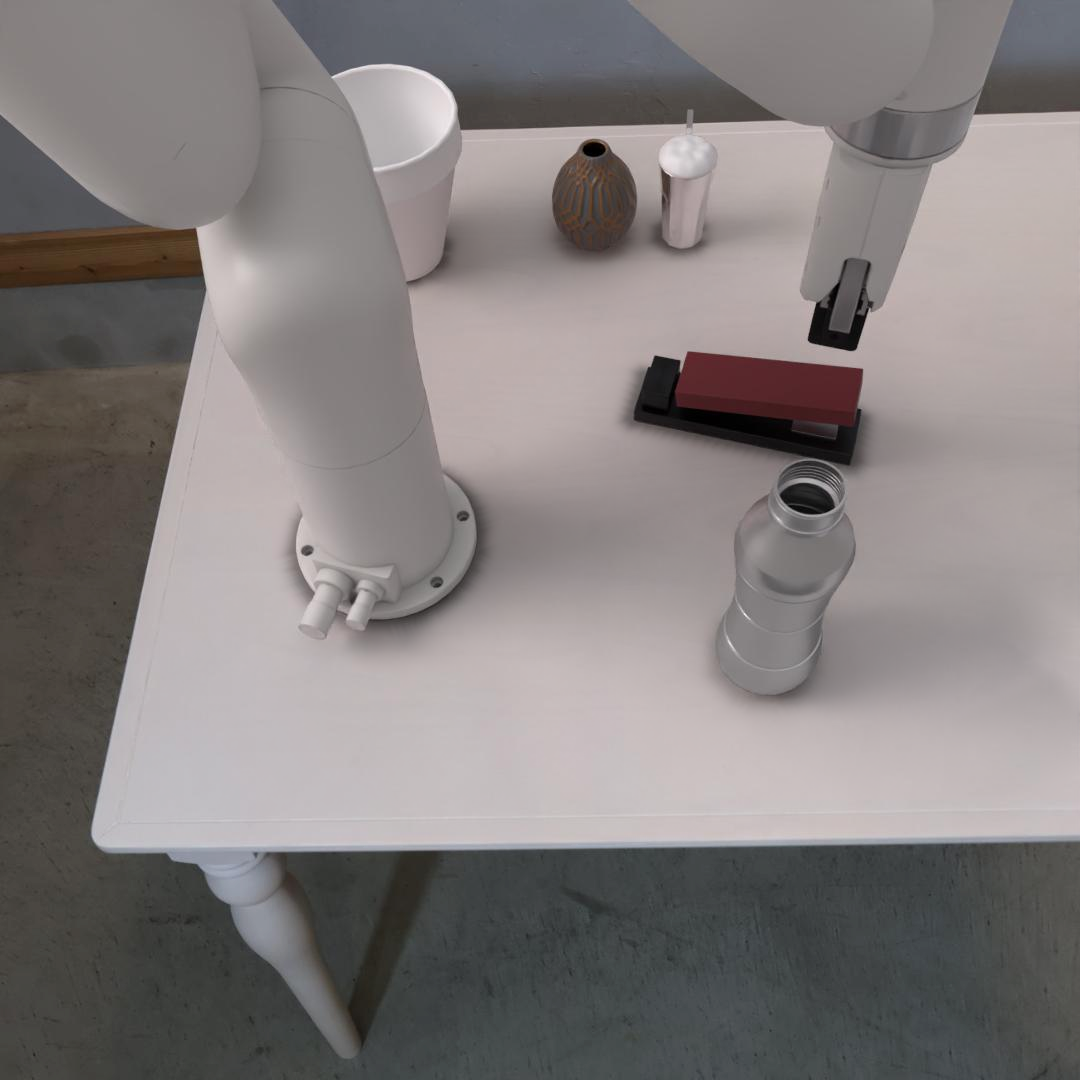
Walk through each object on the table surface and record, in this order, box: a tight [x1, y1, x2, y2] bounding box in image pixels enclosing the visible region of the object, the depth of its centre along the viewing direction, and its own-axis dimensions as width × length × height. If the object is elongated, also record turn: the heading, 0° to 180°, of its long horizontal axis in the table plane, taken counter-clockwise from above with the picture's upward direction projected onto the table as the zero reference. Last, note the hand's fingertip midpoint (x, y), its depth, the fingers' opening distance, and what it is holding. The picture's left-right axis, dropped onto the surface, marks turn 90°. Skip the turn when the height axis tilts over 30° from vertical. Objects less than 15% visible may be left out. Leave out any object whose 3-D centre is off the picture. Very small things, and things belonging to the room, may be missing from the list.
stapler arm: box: [675, 350, 864, 427], centre depth 80 cm, size 12×4×2 cm, turn 73°
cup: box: [331, 63, 463, 282], centre depth 89 cm, size 12×12×14 cm
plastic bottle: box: [715, 458, 857, 696], centre depth 65 cm, size 6×7×20 cm
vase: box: [551, 138, 638, 252], centre depth 91 cm, size 7×7×9 cm
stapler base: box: [633, 354, 863, 466], centre depth 82 cm, size 16×4×3 cm, turn 73°
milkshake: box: [657, 109, 719, 250], centre depth 90 cm, size 4×5×10 cm
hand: (833, 338), depth 74 cm, fingers closed
